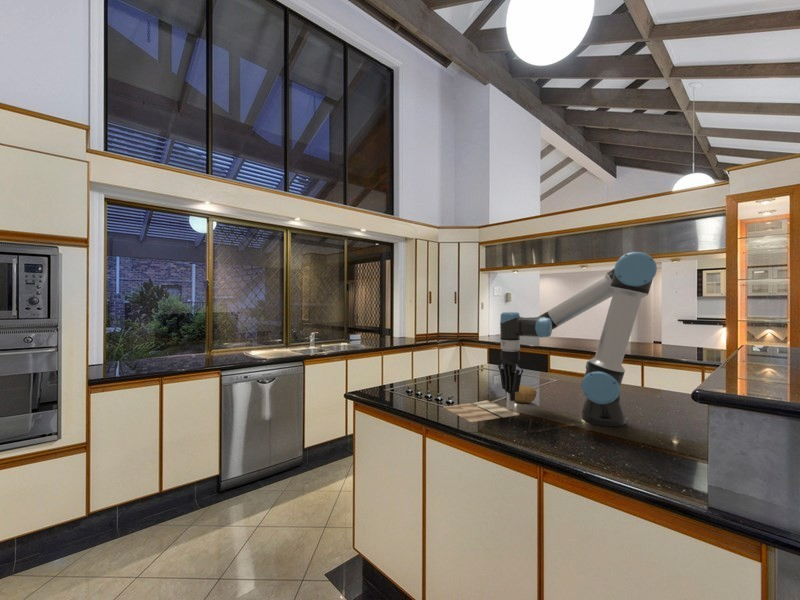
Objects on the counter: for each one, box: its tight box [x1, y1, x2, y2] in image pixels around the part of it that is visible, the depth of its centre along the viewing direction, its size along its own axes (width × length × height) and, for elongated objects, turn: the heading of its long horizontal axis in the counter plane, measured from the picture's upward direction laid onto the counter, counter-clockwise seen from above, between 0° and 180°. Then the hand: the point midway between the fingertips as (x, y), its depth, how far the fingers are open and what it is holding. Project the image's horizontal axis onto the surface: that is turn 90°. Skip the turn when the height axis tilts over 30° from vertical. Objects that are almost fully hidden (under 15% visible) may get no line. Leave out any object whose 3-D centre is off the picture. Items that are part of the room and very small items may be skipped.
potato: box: [514, 384, 537, 404], centre depth 169 cm, size 10×14×8 cm
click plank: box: [471, 399, 520, 418], centre depth 157 cm, size 22×8×1 cm, turn 22°
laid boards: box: [442, 403, 501, 423], centre depth 152 cm, size 22×14×1 cm, turn 22°
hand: (510, 408), depth 150 cm, fingers closed
